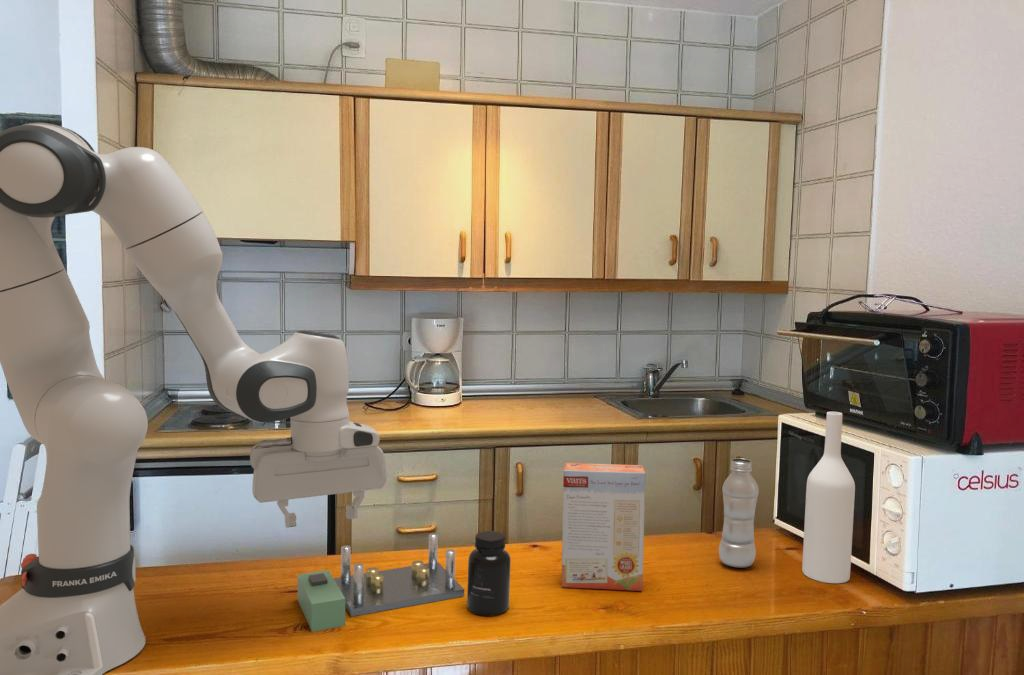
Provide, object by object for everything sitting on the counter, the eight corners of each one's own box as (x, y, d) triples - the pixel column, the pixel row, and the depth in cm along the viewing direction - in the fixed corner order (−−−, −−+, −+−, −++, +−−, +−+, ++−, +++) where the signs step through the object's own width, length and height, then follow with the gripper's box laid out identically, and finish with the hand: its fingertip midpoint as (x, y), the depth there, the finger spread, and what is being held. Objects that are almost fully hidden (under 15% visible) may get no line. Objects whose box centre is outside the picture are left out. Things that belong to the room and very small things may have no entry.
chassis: (351, 616, 117) (351, 572, 117) (333, 585, 129) (332, 544, 128) (464, 596, 126) (464, 554, 125) (437, 568, 137) (438, 529, 137)
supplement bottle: (472, 619, 117) (473, 544, 116) (463, 600, 124) (464, 529, 123) (514, 614, 119) (516, 541, 118) (503, 596, 126) (504, 526, 125)
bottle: (855, 585, 133) (865, 418, 130) (807, 582, 134) (816, 415, 131) (843, 568, 141) (851, 409, 138) (797, 564, 142) (805, 407, 139)
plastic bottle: (711, 560, 143) (715, 457, 141) (742, 557, 145) (746, 455, 144) (730, 573, 137) (735, 466, 135) (762, 570, 139) (767, 463, 137)
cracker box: (640, 578, 134) (644, 463, 132) (642, 593, 128) (646, 472, 126) (561, 574, 135) (564, 460, 134) (560, 588, 129) (563, 469, 128)
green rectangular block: (345, 627, 114) (345, 594, 114) (311, 633, 112) (311, 600, 112) (328, 596, 125) (328, 566, 125) (297, 601, 123) (297, 571, 123)
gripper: (252, 445, 109) (254, 538, 110) (389, 433, 118) (389, 519, 119) (247, 436, 115) (249, 524, 116) (378, 425, 123) (379, 507, 125)
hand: (321, 522), depth 118 cm, fingers open, 8 cm apart
